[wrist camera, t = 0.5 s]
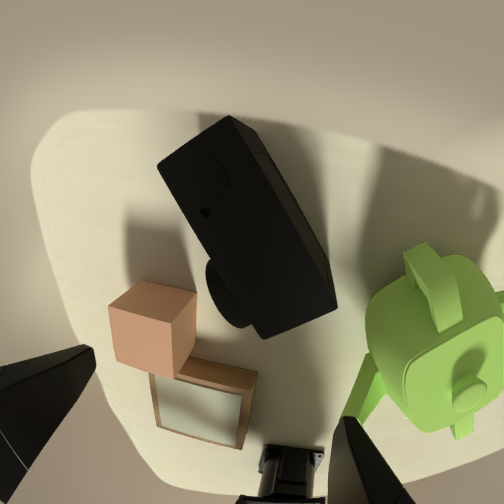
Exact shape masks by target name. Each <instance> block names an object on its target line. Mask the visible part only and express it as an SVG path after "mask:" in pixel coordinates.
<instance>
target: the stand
mask: <svg viewBox="0 0 504 504" xmlns="http://www.w3.org/2000/svg"><path fill="white" fill-rule="evenodd" d="M148 373H149V372H148ZM256 375H257V372H256V371H250V370H245V369H241V368H236V367H231V366H227V365H222V364H218V363H213V362H209V361H205V360H201V359H197V358H193V357H189V356H188V358H187V359H186V361H185V363H184V364H183V366H182V367H181V369H180V371H179V372H178V374H177V376H176V377H175V379H174V380H171V379H168V378H165V377H162V376H158V375H155V374H152V373H149V381H150V388H151V395H152V401H153V408H154V414H155V419H156V425H157V427H160V428H163V429H166V430H169V431H172V432H175V433H178V434H181V435H184V436H188V437H191V438H195V439H198V440H202V441H206V442H209V443H213V444H217V445H221V446H226V447H230V448H234V449H239V450H242V448H243V444H244V440H245V437H246V433H247V428H248V422H249V417H250V411H251V405H252V399H253V393H254V387H255V381H256Z"/></svg>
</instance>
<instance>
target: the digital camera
mask: <svg viewBox="0 0 504 504" xmlns="http://www.w3.org/2000/svg"><path fill="white" fill-rule="evenodd" d="M157 169H158V171H159V173H160V174H161V176H162V178H163V180H164V181H165V183H166V185H167V186H168V188H169V190H170V192H171V193H172V195H173V197H174V199H175V200H176V202H177V204H178V205H179V207H180V209H181V211H182V212H183V214H184V216H185V217H186V219H187V221H188V222H189V224H190V226H191V227H192V229H193V231H194V232H195V234H196V236H197V237H198V239H199V241H200V242H201V244H202V246H203V247H204V249H205V251H206V252H207V254H208V255H209V257H210V260H209V261H208V262H207V265H206V272H205V275H206V282H207V286H208V289H209V292H210V295H211V297H212V300H213V301H214V303H215V305H216V307H217V309H218V310H219V312H220V313H221V314H222V316H223V317H224V318H225V319H226V320H227V321H228V322H229V323H230V324H231V325H233V326H235V327H237V328H245V327H247V326H249V325H253V327H254V328H255V330H256V331H257V333H258V334H259V336H260V337H261V338H262V339H263V340H265V339H268V338H270V337H273V336H275V335H278V334H280V333H283V332H285V331H288V330H290V329H292V328H295V327H297V326H300V325H302V324H304V323H307V322H309V321H311V320H313V319H316V318H318V317H320V316H322V315H325V314H327V313H329V312H332V311H334V310H336V309H337V308H338V305H337V299H336V294H335V288H334V283H333V278H332V273H331V268H330V263H329V261H328V259H327V257H326V255H325V253H324V251H323V249H322V247H321V245H320V244H319V242H318V240H317V238H316V236H315V234H314V232H313V230H312V229H311V227H310V225H309V223H308V221H307V219H306V217H305V216H304V214H303V212H302V210H301V208H300V207H299V205H298V203H297V201H296V199H295V198H294V196H293V194H292V192H291V191H290V189H289V187H288V185H287V184H286V182H285V180H284V178H283V177H282V175H281V173H280V172H279V170H278V168H277V166H276V165H275V163H274V161H273V160H272V158H271V156H270V155H269V153H268V151H267V150H266V148H265V146H264V145H263V143H262V141H261V140H260V138H259V136H258V135H257V133H256V132H255V130H253V129H252V128H250V127H248V126H247V125H245V124H243V123H242V122H240V121H239V120H237V119H235V118H234V117H232V116H230V115H228V116H226V117H224V118H223V119H221V120H220V121H218V122H217V123H215V124H214V125H212V126H210V127H209V128H207V129H206V130H204V131H203V132H201V133H200V134H199V135H197V136H196V137H194V138H193V139H191V140H190V141H188V142H187V143H186V144H184V145H183V146H181V147H180V148H178V149H177V150H176V151H174V152H173V153H172V154H170V155H169V156H167V157H166V158H165V159H163V160H162V161H161V162H159V164H158V165H157Z"/></svg>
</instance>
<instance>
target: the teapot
mask: <svg viewBox="0 0 504 504" xmlns="http://www.w3.org/2000/svg"><path fill="white" fill-rule="evenodd" d="M403 257H404V264H405V272H406V275H404V276H402V277H401V278H399V279H397V280H396V281H394V282H392V283H390V284H389V285H387V286H386V287H384V288H383V289H381V290H380V291H379V292H378V293H377V294H375V295H374V297H373V298H372V299H371V301H370V303H369V305H368V307H367V309H366V316H365V330H366V339H367V344H368V349H369V353H367V354H366V355H365V357H364V360H363V363H362V366H361V368H360V371H359V373H358V376H357V379H356V381H355V384H354V386H353V389H352V391H351V394H350V396H349V398H348V401H347V403H346V405H345V408H344V410H343V412H342V414H341V417H342V416H344V415H346V416H354V417H356V419H357V420H358V422H359V423H360V425H361V426H362V424H363V423H364V422H365V420H366V419H367V418H368V416H369V415H370V414H371V412H372V411H373V410H374V408H375V407H376V406H377V404H378V403H379V401H380V400H381V399H382V397H383V396H384V395H386V394H389V396H390V397H391V399H392V400H393V401H394V402H395V404H396V405H397V406H398V407H399V409H400V410H401V411H402V412H403V413H404V414H405V416H406V417H407V418H408V419H409V420H410V421H411V422H412V423H413V424H414V425H415V426H416V427H417V428H418V429H419V430H420V431H422V432H426V433H431V432H435V431H438V430H440V429H443V428H445V427H447V426H450V428H451V431H452V433H453V436H454V438H455V441H456V440H459V439H461V438H463V437H465V436H467V435H468V434H470V433H472V432H474V413H475V412H476V411H478V410H480V409H481V408H483V407H484V406H486V405H487V404H489V403H490V402H492V401H493V400H494V399H495V398H497V397H498V396H499V394H500V393H501V392H502V390H503V388H504V290H503V291H499V292H494V290H493V288H492V286H491V284H490V282H489V281H488V279H487V278H486V276H485V275H484V274H483V272H482V271H481V270H480V269H479V268H478V267H477V266H476V265H475V264H474V263H473V261H471V260H470V259H469V258H467V257H465V256H463V255H457V254H455V255H449V256H445V257H442V258H441V257H440V256H439V255H438V254H437V253H436V252H435V251H434V250H433V249H432V247H431V246H430V245H429V244H428V243H427V242H426V241H425V242H423V243H421V244H419V245H417V246H415V247H413V248H411V249H409V250H406V251H404V252H403ZM341 417H340V419H341ZM340 419H339V421H340Z"/></svg>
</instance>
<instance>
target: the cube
mask: <svg viewBox="0 0 504 504" xmlns="http://www.w3.org/2000/svg"><path fill="white" fill-rule="evenodd" d="M196 309H197V292H192V291H187V290H183V289H178V288H173V287H169V286H164V285H160V284H155V283H151V282H147V281H142V280H141V281H140V282H138V283H137V284H136V285H134V286H133V287H132V288H130V289H129V290H128V291H127V292H125V293H124V294H123V295H121V296H120V297H119V298H117V299H116V300H115V301H114V302H112V303H111V304H110V305H108V310H109V318H110V326H111V333H112V339H113V345H114V351H115V357H116V361H118V362H120V363H123V364H126V365H129V366H131V367H134V368H137V369H140V370H143V371H146V372H149V373H152V374H155V375H158V376H162V377H165V378H168V379H171V380H174V379H175V377H176V376H177V374H178V372H179V371H180V369H181V367H182V366H183V364H184V363H185V361H186V359H187V358H188V356H189V355H190V353H191V351H192V350H193V348H194V346H195V345H196Z"/></svg>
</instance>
